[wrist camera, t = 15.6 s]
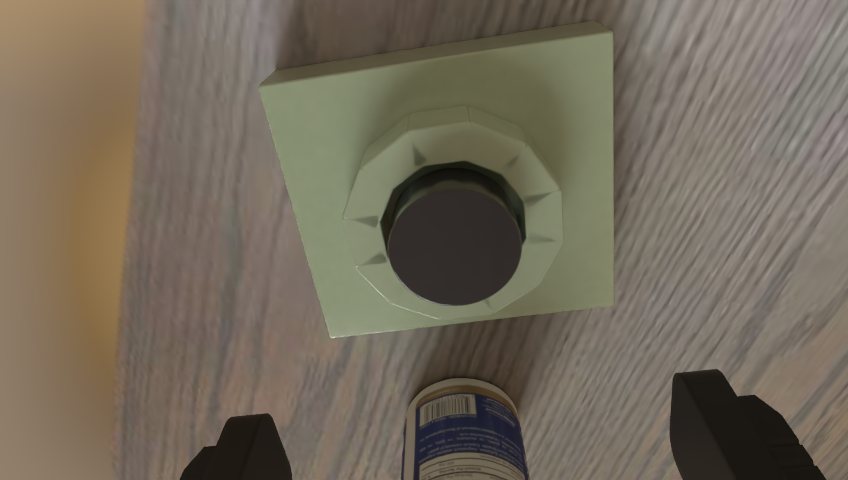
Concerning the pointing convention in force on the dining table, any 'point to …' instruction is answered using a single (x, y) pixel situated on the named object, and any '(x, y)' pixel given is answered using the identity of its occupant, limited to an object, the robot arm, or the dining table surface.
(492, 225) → the lid button
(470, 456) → the pill bottle
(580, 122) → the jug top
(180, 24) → the dining table surface
